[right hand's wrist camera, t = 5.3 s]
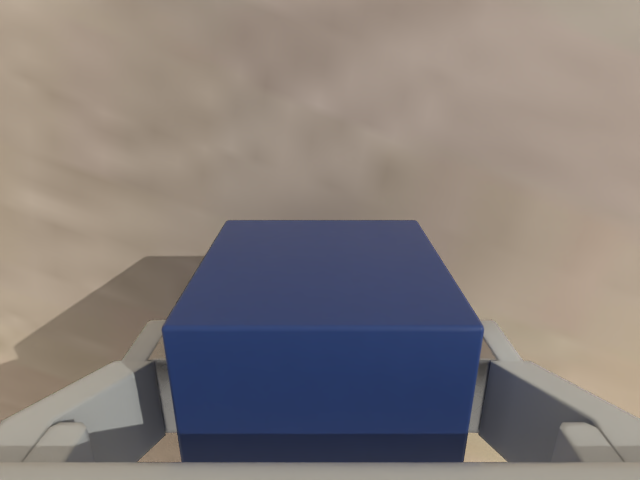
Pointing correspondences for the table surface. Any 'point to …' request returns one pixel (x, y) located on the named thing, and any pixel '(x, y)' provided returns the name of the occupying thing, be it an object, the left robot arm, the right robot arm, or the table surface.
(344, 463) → the right robot arm
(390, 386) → the block
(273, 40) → the table surface
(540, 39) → the table surface
